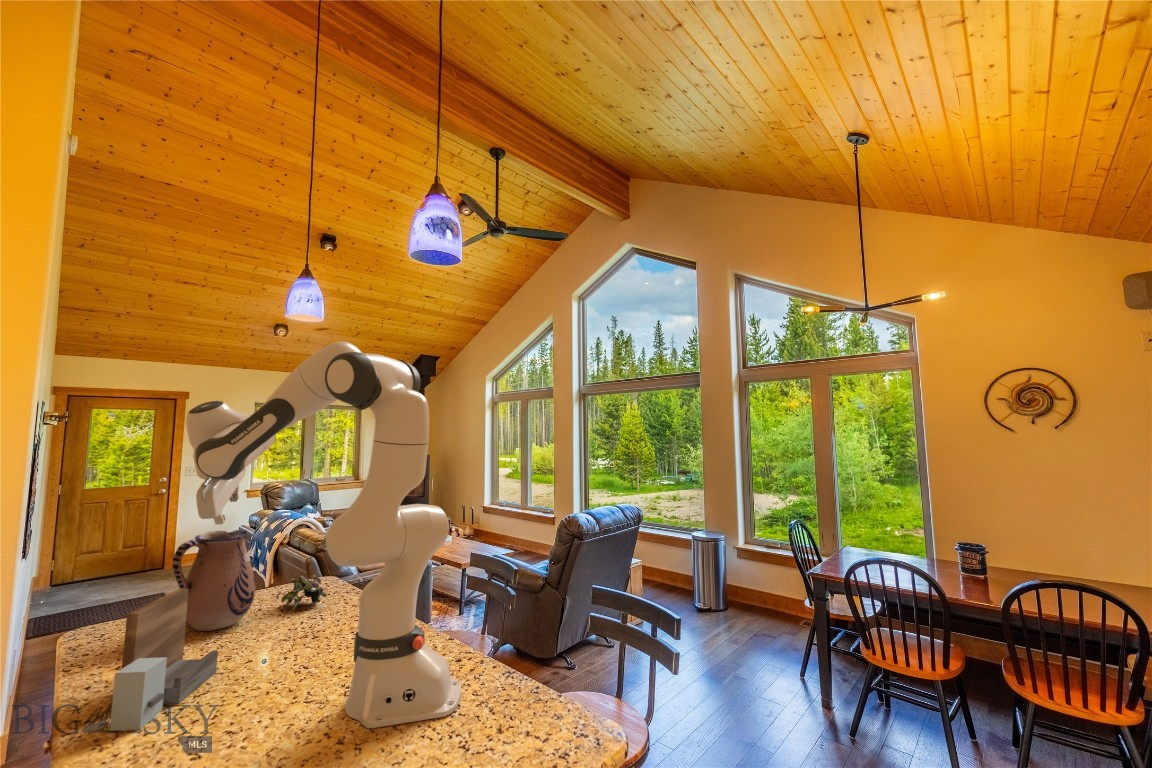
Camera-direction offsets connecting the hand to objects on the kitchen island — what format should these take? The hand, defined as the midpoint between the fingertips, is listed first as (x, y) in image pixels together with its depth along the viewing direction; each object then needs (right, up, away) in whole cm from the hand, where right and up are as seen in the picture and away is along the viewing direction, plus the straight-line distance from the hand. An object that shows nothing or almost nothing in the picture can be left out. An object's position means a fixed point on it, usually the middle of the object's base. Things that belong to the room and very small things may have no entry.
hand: (227, 511), depth 129 cm
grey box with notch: (+6, -31, -34) cm, 46 cm away
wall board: (+4, -32, -22) cm, 39 cm away
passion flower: (+4, -37, +27) cm, 46 cm away
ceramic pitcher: (-12, -35, +10) cm, 38 cm away
